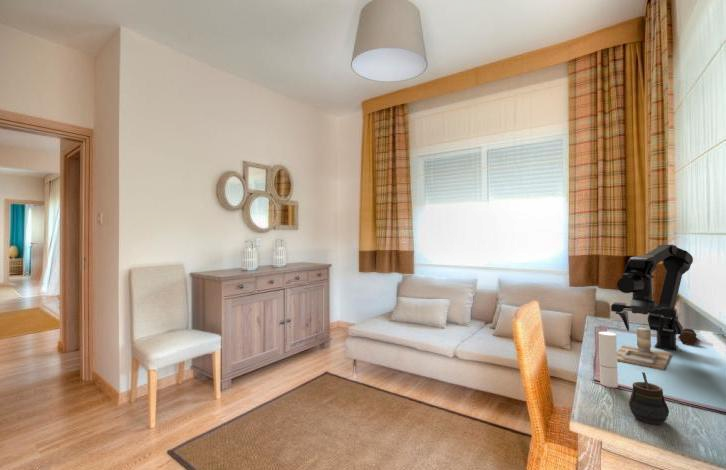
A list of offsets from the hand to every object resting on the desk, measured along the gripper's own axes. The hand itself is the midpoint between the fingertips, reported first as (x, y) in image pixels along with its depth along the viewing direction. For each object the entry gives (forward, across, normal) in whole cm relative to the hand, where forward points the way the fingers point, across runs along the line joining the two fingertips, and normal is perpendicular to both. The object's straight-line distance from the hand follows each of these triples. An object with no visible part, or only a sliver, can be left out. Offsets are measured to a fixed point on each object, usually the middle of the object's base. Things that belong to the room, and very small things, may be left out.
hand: (643, 332), depth 129 cm
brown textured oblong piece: (+8, +10, +32) cm, 34 cm away
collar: (+8, 0, -11) cm, 13 cm away
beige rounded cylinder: (+7, 0, 0) cm, 7 cm away
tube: (+8, -3, -41) cm, 42 cm away
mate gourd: (+8, +8, -58) cm, 59 cm away
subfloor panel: (+8, 0, -6) cm, 10 cm away
